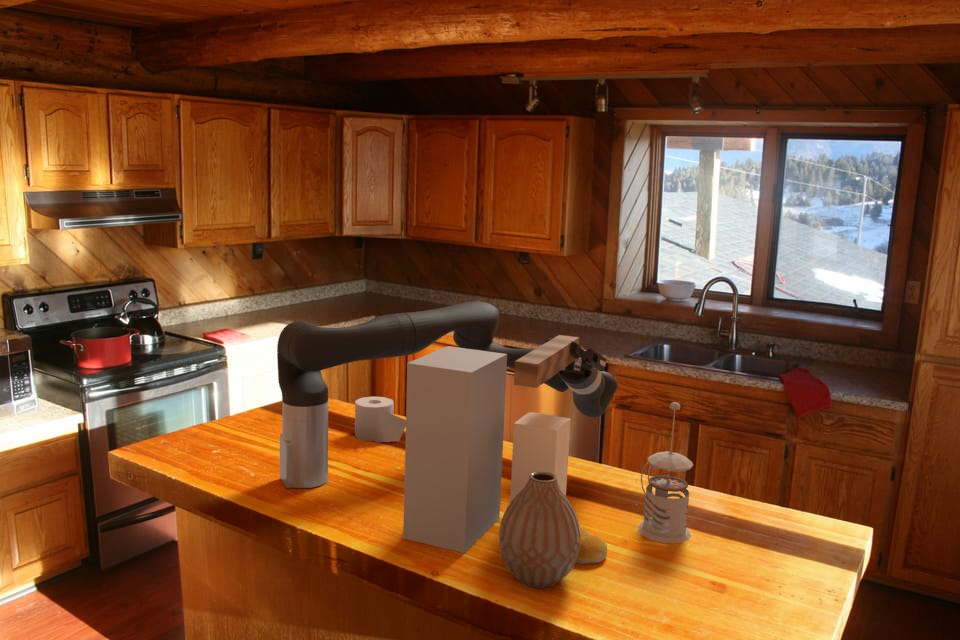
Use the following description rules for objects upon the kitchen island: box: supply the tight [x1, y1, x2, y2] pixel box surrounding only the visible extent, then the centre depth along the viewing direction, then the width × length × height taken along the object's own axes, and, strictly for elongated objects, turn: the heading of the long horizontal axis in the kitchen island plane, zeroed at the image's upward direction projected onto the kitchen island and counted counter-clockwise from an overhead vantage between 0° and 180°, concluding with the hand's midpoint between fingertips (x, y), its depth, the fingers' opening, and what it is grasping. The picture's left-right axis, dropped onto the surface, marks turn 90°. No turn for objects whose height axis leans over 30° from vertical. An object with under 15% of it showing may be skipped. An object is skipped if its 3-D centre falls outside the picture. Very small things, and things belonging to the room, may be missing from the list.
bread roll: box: [575, 527, 608, 565], centre depth 141 cm, size 8×9×4 cm
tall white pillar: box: [402, 345, 508, 554], centre depth 146 cm, size 16×12×32 cm
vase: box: [498, 471, 581, 589], centre depth 131 cm, size 13×13×18 cm
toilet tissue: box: [354, 396, 406, 443], centre depth 198 cm, size 9×13×9 cm
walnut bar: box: [513, 334, 580, 389], centre depth 144 cm, size 24×4×4 cm, turn 157°
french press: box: [637, 401, 694, 544], centre depth 150 cm, size 10×12×25 cm
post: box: [509, 411, 572, 504], centre depth 148 cm, size 8×8×21 cm
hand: (560, 344), depth 150 cm, fingers closed on walnut bar, 4 cm apart
